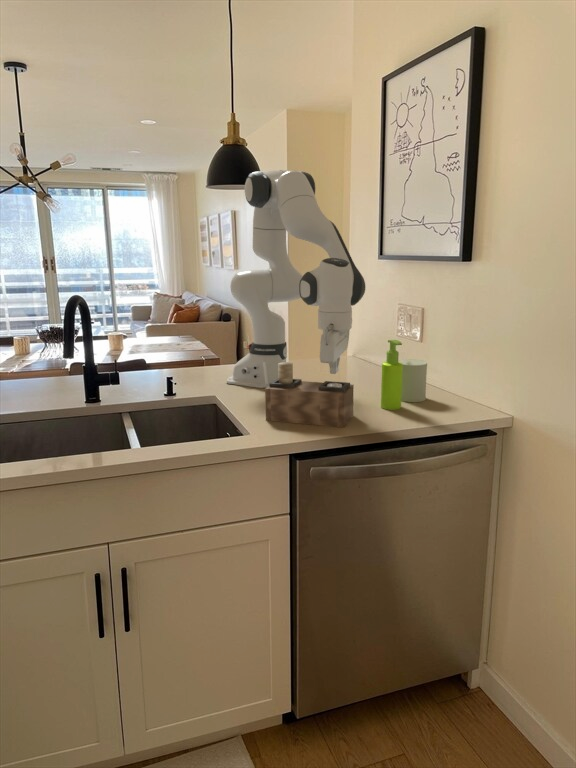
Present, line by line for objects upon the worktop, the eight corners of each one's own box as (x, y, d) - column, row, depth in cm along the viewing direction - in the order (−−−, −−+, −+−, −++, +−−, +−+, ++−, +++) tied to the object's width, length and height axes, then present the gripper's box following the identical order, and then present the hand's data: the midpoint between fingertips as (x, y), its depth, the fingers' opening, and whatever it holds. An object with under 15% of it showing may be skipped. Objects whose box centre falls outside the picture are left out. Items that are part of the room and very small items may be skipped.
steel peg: (325, 414, 152) (325, 386, 150) (329, 410, 156) (329, 382, 154) (339, 415, 151) (339, 387, 149) (343, 411, 155) (343, 383, 153)
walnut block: (265, 420, 155) (265, 384, 152) (279, 409, 165) (279, 376, 162) (343, 427, 147) (344, 390, 145) (353, 415, 158) (353, 381, 155)
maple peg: (276, 393, 156) (276, 364, 154) (281, 389, 159) (281, 362, 157) (290, 394, 154) (289, 365, 152) (294, 390, 158) (294, 362, 156)
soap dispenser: (387, 411, 161) (390, 342, 156) (377, 405, 168) (379, 339, 163) (406, 409, 163) (408, 341, 158) (395, 403, 169) (397, 338, 165)
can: (390, 399, 174) (392, 361, 171) (402, 393, 181) (403, 356, 178) (419, 403, 169) (421, 364, 166) (430, 397, 176) (432, 359, 173)
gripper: (338, 328, 137) (338, 382, 141) (353, 317, 156) (352, 365, 160) (313, 327, 139) (313, 381, 142) (331, 316, 158) (330, 364, 161)
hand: (334, 372), depth 151 cm, fingers closed
